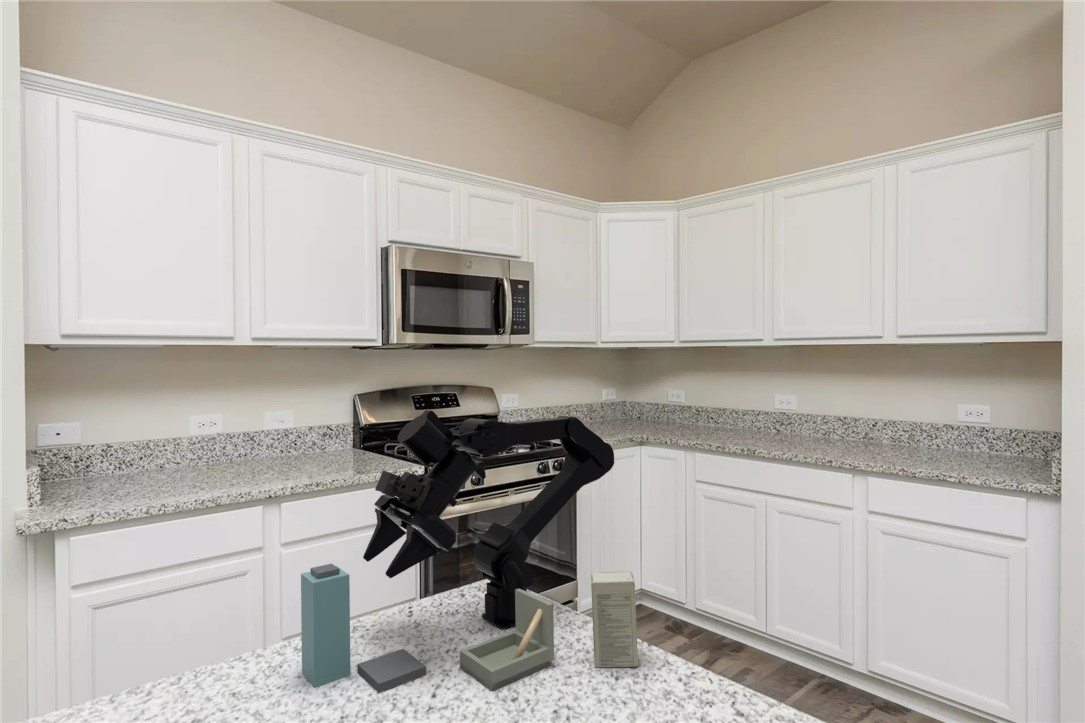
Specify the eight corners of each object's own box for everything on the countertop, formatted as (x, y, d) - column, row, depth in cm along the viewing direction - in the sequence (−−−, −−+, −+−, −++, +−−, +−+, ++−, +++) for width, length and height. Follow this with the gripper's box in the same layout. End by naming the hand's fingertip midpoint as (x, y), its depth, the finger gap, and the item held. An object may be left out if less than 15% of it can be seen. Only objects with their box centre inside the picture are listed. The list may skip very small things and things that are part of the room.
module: (337, 662, 87) (335, 560, 87) (350, 675, 83) (349, 568, 83) (301, 673, 84) (300, 568, 84) (314, 687, 80) (313, 577, 80)
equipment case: (520, 644, 91) (519, 588, 92) (554, 663, 85) (553, 603, 85) (459, 668, 85) (459, 607, 85) (492, 691, 78) (491, 625, 79)
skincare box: (634, 653, 88) (633, 570, 88) (638, 668, 84) (637, 581, 84) (591, 653, 88) (590, 570, 88) (593, 668, 84) (591, 581, 84)
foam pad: (403, 656, 88) (403, 648, 88) (426, 674, 83) (426, 666, 83) (357, 672, 84) (357, 664, 84) (378, 693, 78) (378, 683, 78)
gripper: (385, 444, 99) (317, 522, 92) (435, 457, 84) (358, 551, 77) (430, 486, 103) (368, 563, 97) (484, 505, 88) (416, 598, 82)
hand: (376, 567), depth 88 cm, fingers open, 9 cm apart
